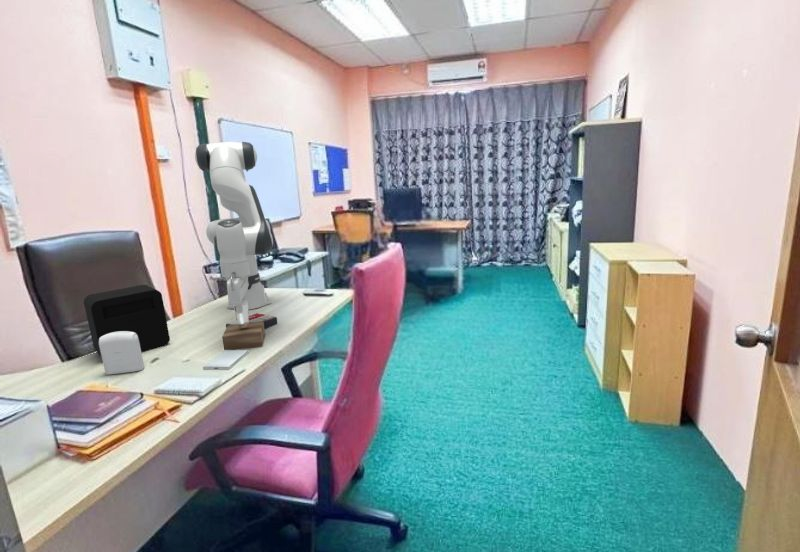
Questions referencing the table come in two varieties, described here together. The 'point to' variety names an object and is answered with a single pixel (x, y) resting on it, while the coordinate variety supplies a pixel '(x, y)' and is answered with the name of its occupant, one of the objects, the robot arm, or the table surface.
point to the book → (257, 317)
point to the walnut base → (244, 336)
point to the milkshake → (243, 315)
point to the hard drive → (226, 360)
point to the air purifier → (128, 315)
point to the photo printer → (121, 352)
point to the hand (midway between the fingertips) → (241, 310)
